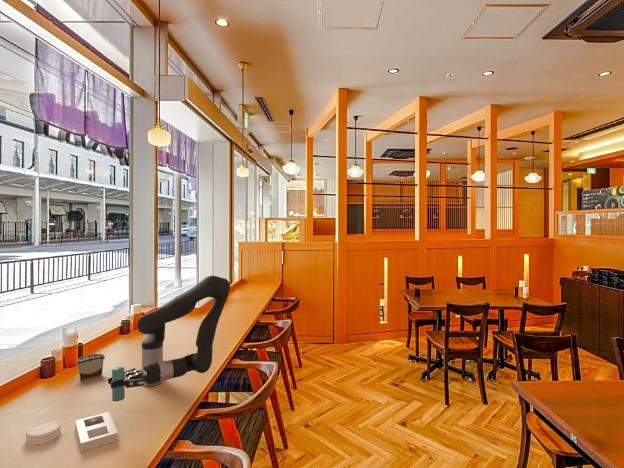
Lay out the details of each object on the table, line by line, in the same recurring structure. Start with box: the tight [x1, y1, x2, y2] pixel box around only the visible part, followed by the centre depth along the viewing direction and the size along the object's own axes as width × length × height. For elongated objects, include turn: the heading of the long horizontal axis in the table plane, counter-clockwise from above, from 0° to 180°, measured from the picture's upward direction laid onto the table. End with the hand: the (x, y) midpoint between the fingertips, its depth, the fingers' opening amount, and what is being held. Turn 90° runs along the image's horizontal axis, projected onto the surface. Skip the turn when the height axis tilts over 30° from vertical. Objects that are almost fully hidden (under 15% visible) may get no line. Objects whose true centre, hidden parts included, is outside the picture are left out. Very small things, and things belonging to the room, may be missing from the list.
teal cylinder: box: [111, 366, 126, 402], centre depth 139 cm, size 4×4×11 cm
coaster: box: [25, 420, 62, 446], centre depth 134 cm, size 10×10×4 cm
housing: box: [74, 411, 119, 453], centre depth 136 cm, size 18×11×3 cm, turn 37°
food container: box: [76, 353, 106, 382], centre depth 188 cm, size 12×6×10 cm, turn 134°
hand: (109, 383), depth 137 cm, fingers closed on teal cylinder, 4 cm apart
